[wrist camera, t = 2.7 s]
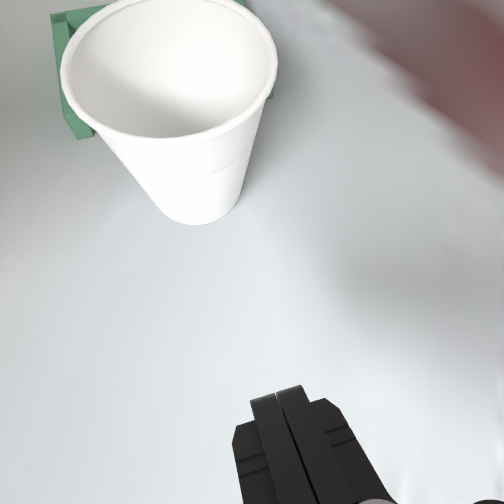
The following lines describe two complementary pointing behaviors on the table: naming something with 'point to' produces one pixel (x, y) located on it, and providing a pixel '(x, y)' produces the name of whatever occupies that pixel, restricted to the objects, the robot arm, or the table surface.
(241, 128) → the cup
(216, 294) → the table surface
